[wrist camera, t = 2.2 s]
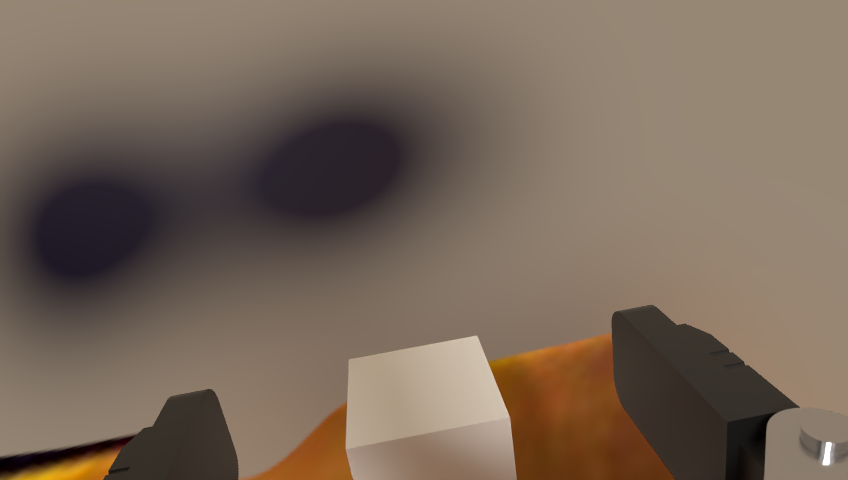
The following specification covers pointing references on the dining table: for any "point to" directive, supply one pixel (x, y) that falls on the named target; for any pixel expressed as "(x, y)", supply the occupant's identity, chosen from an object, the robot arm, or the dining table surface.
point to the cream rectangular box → (428, 415)
